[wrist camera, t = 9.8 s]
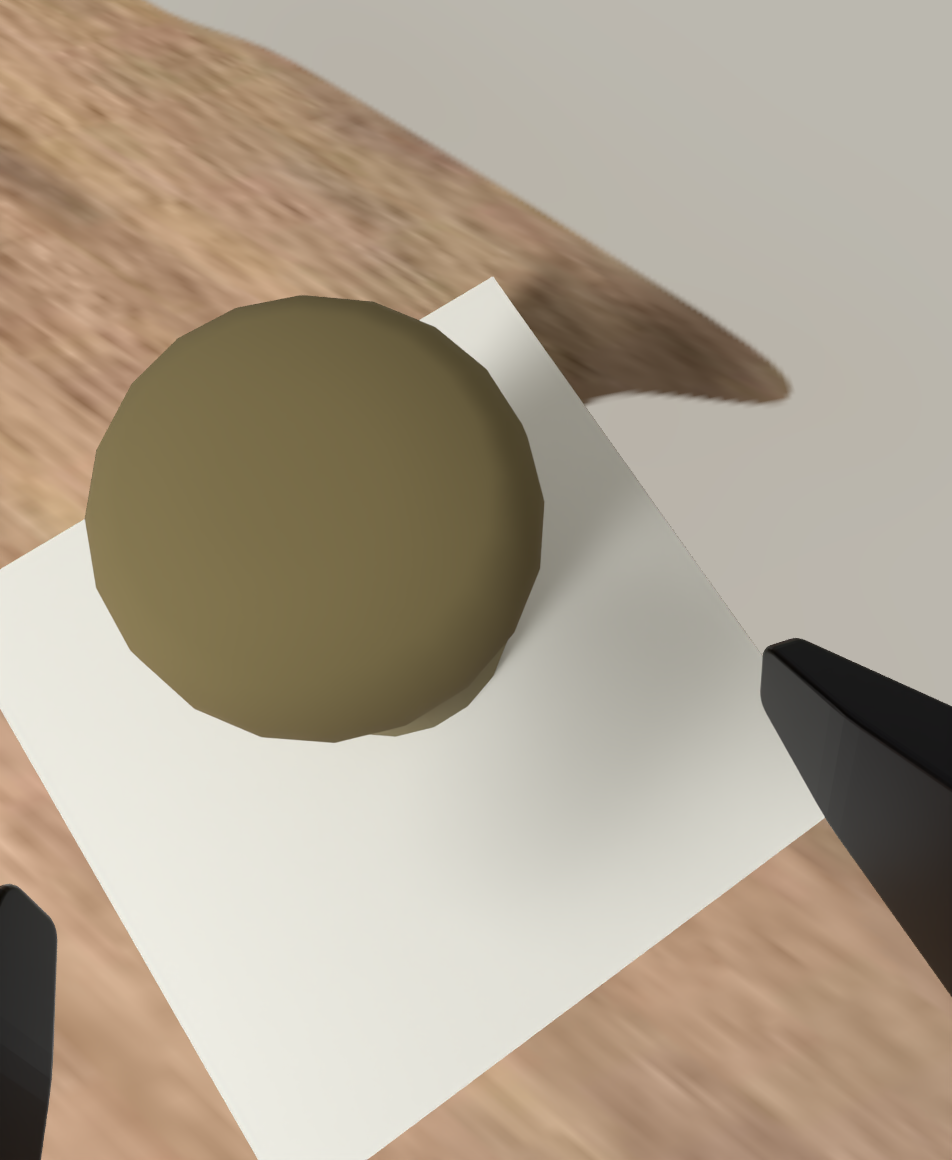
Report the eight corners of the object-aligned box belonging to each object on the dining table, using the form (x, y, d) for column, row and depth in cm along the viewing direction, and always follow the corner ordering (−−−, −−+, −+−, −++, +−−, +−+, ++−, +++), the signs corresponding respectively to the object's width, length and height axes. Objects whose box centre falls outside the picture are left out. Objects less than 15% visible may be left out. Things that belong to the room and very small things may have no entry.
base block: (800, 777, 21) (859, 791, 18) (315, 1134, 19) (290, 1216, 16) (487, 331, 22) (492, 276, 19) (14, 617, 20) (-59, 604, 18)
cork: (214, 651, 18) (-160, 576, 7) (352, 448, 19) (217, 97, 8) (427, 785, 17) (394, 933, 6) (555, 572, 18) (716, 388, 7)
